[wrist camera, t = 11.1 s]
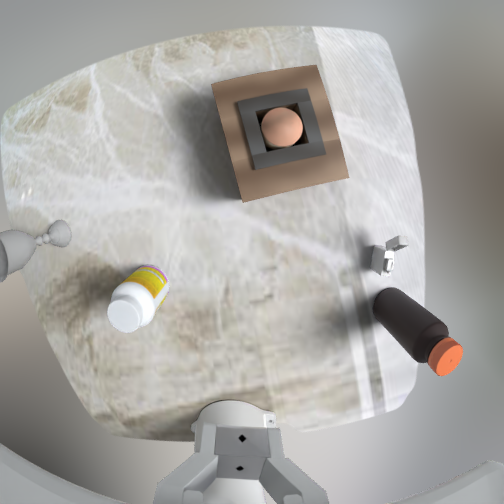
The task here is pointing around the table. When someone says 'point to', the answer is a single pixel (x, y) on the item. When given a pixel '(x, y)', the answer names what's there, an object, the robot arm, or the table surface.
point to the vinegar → (417, 331)
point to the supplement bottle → (138, 298)
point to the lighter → (386, 255)
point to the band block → (286, 159)
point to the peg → (280, 129)
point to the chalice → (28, 246)
